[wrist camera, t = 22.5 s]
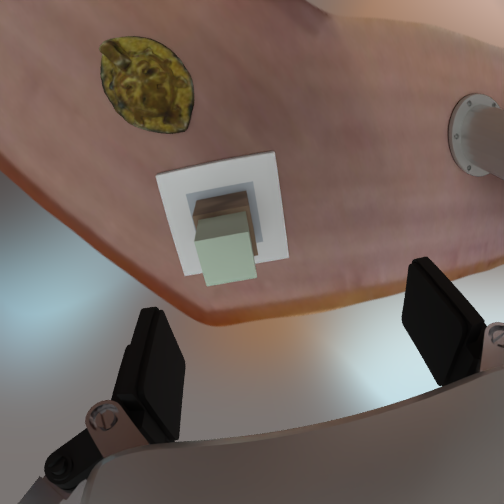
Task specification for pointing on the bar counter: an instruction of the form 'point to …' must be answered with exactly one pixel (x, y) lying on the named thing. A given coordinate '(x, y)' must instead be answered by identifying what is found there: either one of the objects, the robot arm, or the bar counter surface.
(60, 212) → the bar counter surface
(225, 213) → the walnut block
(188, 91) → the olive brown ornament
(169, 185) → the board
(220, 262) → the sage cube
